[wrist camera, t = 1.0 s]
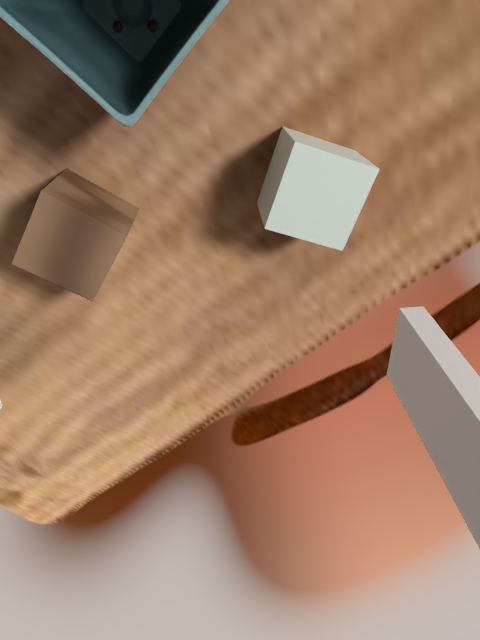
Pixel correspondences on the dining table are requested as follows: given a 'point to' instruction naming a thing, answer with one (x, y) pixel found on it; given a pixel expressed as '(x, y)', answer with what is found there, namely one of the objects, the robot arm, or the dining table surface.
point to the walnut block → (74, 234)
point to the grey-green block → (314, 189)
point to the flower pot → (114, 44)
